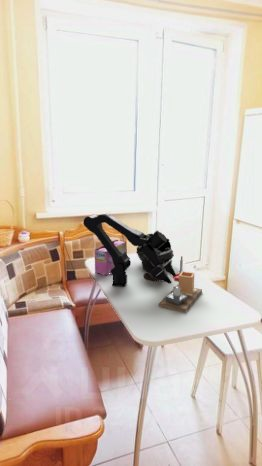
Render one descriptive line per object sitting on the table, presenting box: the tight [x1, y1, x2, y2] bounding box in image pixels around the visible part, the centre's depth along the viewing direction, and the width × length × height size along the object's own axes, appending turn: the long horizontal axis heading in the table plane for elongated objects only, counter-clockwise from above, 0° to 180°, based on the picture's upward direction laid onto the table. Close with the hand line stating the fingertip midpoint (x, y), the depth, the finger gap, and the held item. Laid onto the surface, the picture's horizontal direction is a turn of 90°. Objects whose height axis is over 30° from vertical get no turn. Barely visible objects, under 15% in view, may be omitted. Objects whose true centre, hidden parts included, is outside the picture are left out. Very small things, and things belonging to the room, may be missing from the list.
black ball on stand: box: [141, 250, 162, 282], centre depth 173 cm, size 13×13×15 cm
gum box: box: [94, 239, 128, 276], centre depth 187 cm, size 24×8×14 cm, turn 152°
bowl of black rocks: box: [136, 233, 172, 262], centre depth 190 cm, size 20×20×19 cm
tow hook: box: [172, 256, 184, 281], centre depth 173 cm, size 8×13×9 cm
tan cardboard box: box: [178, 270, 196, 294], centre depth 153 cm, size 6×6×8 cm
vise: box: [165, 285, 187, 306], centre depth 144 cm, size 7×10×6 cm
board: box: [158, 284, 203, 314], centre depth 149 cm, size 23×12×2 cm, turn 152°
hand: (173, 279), depth 155 cm, fingers open, 9 cm apart
